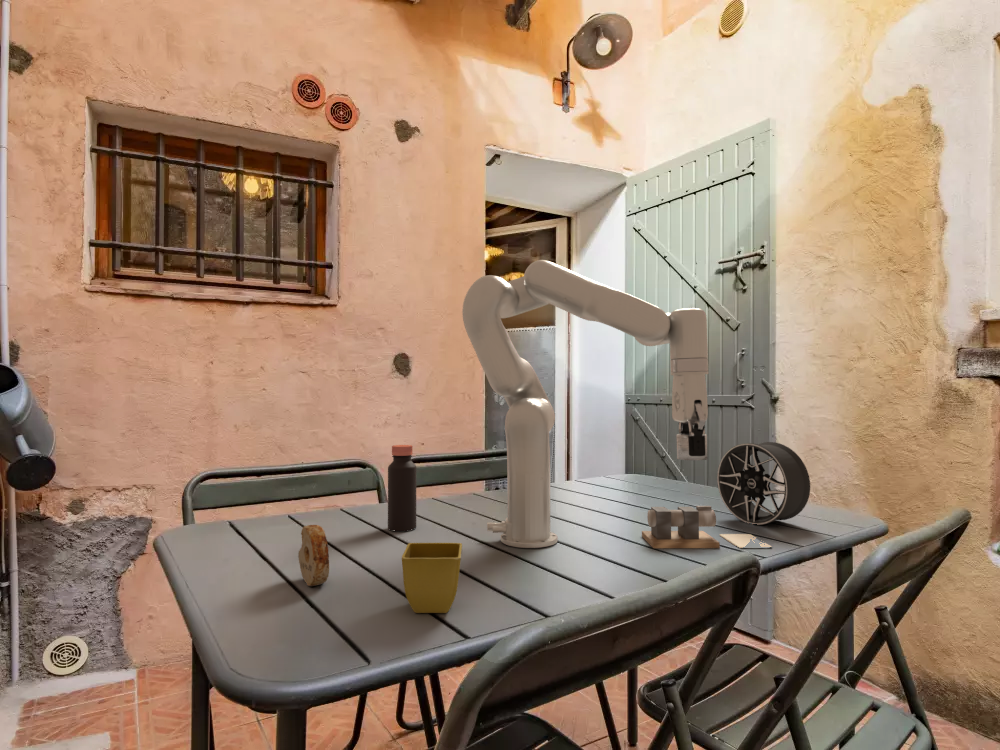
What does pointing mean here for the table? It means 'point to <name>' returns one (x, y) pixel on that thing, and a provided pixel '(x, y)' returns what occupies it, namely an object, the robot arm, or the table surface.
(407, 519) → the bottle
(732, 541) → the mat
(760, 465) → the wheel rim
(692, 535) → the shaft stand
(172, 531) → the table surface
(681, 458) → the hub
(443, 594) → the flower pot
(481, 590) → the table surface
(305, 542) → the stone disc
